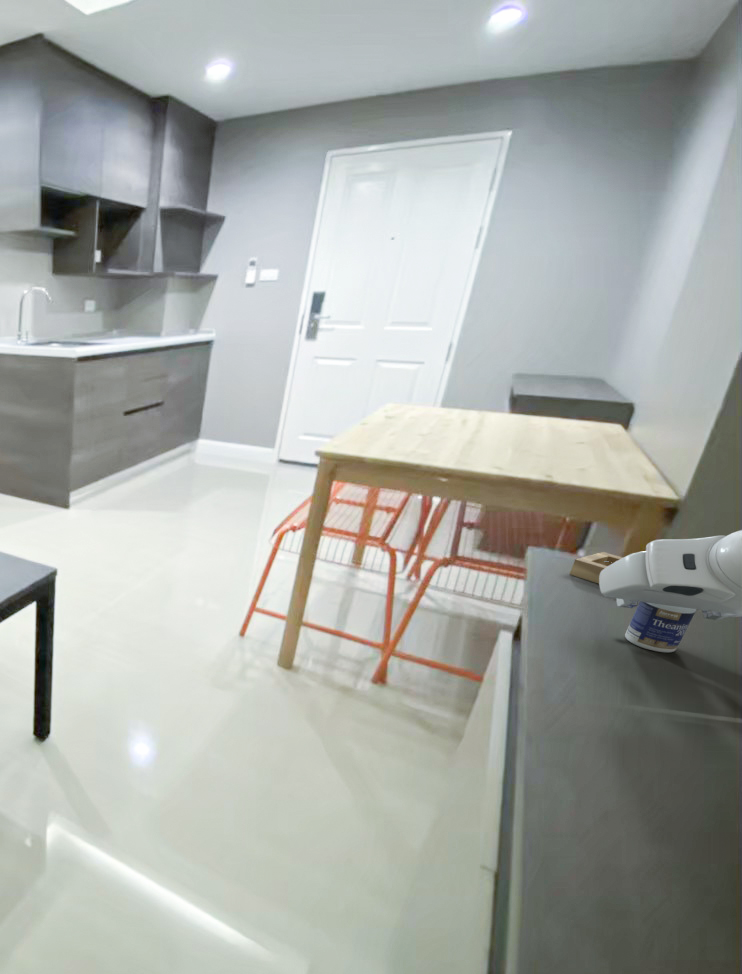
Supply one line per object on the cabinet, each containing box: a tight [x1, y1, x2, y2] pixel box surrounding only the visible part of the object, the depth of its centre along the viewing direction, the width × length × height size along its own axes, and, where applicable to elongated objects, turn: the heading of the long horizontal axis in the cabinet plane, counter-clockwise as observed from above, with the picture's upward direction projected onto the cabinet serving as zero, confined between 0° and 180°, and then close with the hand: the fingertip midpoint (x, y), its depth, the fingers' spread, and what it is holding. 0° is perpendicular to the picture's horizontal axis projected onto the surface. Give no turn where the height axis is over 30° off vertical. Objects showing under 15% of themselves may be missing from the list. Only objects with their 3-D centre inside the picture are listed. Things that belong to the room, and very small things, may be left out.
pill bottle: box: [624, 602, 697, 653], centre depth 86 cm, size 5×5×10 cm
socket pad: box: [569, 551, 624, 585], centre depth 108 cm, size 9×9×3 cm
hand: (665, 608), depth 86 cm, fingers open, 8 cm apart
